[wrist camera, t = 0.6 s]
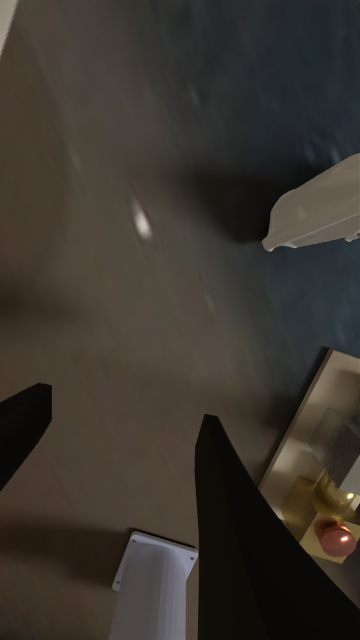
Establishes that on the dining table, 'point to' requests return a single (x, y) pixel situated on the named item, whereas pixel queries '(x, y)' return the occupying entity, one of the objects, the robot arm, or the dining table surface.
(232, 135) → the dining table surface
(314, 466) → the board
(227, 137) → the dining table surface
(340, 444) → the grey rectangular block
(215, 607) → the robot arm
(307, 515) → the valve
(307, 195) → the salt and pepper shakers
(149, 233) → the dining table surface
